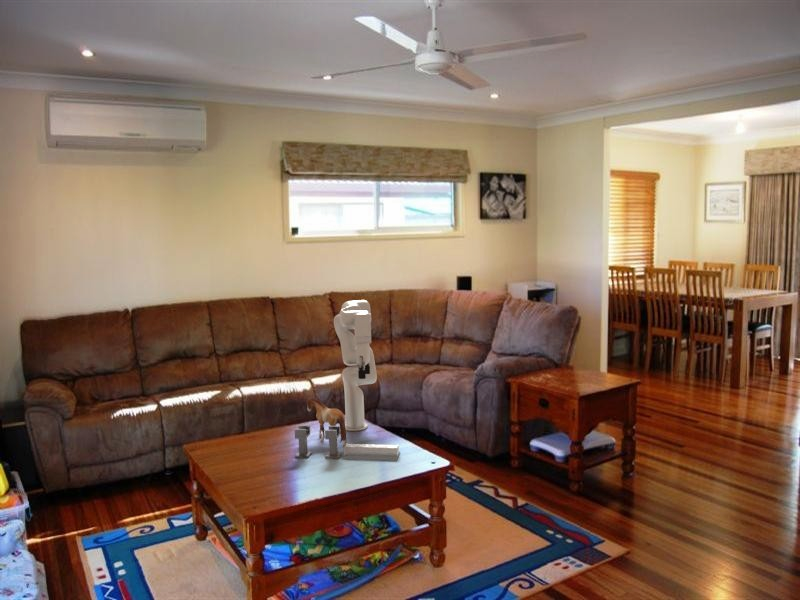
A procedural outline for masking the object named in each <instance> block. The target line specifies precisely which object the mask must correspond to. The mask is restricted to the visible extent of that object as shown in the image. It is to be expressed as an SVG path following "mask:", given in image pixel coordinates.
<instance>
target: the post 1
mask: <svg viewBox="0 0 800 600" xmlns="http://www.w3.org/2000/svg"><path fill="white" fill-rule="evenodd" d="M310 435H311V425H303V424H299V425H298V428H295V429H294V439H295V440H297V439H298V452H297V453H296V454H295V455H294V458H295V459H296V458H297V459H298V458H299V459H309V458H310V457H311V456H312V454H313V451H312V450H311V451H309V450H308V449H309V447H308V437H309V436H310Z"/></svg>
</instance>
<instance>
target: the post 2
mask: <svg viewBox="0 0 800 600" xmlns="http://www.w3.org/2000/svg"><path fill="white" fill-rule="evenodd" d="M324 435H325V438H324V440H328V449H329V450H328V452H327V454H326V455H325V459H326V460H327V459H328V460H330V459H331V460H333V459H334V460H339V459H340V458H341V456H342V455H343V452H342V451H339V450H338V438H339V437H341V434H340V425H336V426H330V425H328V429H324Z"/></svg>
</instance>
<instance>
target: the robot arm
mask: <svg viewBox="0 0 800 600" xmlns="http://www.w3.org/2000/svg"><path fill="white" fill-rule="evenodd" d="M371 311H372V310H371V304H370V303H369V301H367V300H365V299H361V300H360V299H358V300H348V301H345V302H344V303H343V304H342V305H341V310H340V311H339V313H338V314H336V315H335V316H334V317H333V326H334V327H333V328H334V330H335V333H336V335H337V337H338V339H339V342H340V348H341V349H340V350H341V357H342V362H343V364H344V365H346V366H347V367H345V368H344V369H343V370H342V372H341V377H342V384H343V390H344V409H345V414H344V416H345V426H346V431H347V432H348V431H349V432H358V431H363V430H366V429H368V427H369V426H368V423H367V422H365V402H364V401H365V399H364V392H363V390H362V389H361V388H360V387H359V386H362V385H372V384H375V383H376V382H377V380H378V375H377V368H376V362H375V355H374V351H373V349H372V348H371V347H370V344H372V325H371V324H372V314H371ZM350 330H354V334H353V333H352V332H351V331H350Z"/></svg>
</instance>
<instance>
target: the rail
mask: <svg viewBox="0 0 800 600" xmlns="http://www.w3.org/2000/svg"><path fill="white" fill-rule="evenodd" d="M343 450H344V451H343V452H344V455H343V456H345V455H349V456H385V457H398V458H399V456H398V454H399V452H400V447H399V444H372V443H371V444H369V443H368V444H367V443H365V444H363V443H347V444H346V445H345V446H343ZM399 455H400V454H399Z"/></svg>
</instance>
